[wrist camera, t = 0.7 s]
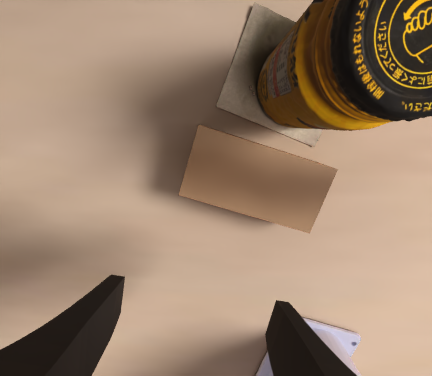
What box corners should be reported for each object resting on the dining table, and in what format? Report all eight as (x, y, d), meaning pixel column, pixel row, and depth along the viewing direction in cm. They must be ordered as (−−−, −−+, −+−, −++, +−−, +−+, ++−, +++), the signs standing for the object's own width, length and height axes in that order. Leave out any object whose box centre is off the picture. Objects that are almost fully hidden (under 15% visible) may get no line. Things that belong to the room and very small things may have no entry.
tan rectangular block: (294, 216, 21) (309, 233, 18) (184, 183, 20) (178, 195, 17) (316, 162, 20) (337, 169, 17) (201, 124, 19) (198, 125, 16)
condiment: (313, 146, 20) (461, 178, 8) (215, 106, 19) (220, 74, 7) (358, 53, 18) (629, -80, 6) (253, 4, 17) (341, -256, 5)
